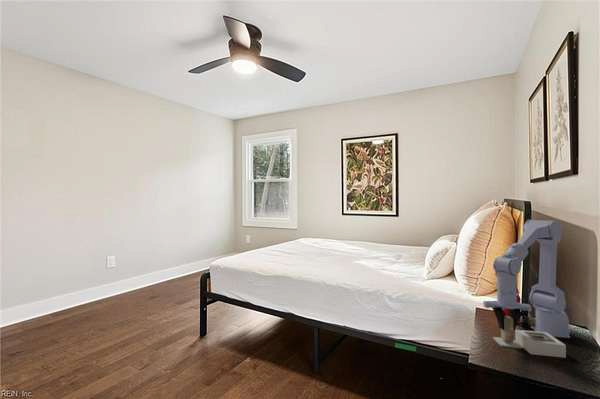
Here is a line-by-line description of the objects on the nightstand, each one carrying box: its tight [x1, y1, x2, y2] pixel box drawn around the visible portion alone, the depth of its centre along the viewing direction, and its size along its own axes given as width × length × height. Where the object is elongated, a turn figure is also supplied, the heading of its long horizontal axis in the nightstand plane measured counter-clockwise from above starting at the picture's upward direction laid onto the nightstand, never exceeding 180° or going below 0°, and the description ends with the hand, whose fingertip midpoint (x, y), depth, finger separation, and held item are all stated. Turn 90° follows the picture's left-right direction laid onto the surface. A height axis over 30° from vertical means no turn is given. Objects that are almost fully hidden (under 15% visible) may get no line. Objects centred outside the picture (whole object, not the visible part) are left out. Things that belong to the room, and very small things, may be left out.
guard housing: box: [514, 329, 567, 359], centre depth 101 cm, size 10×10×4 cm
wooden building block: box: [500, 316, 514, 342], centre depth 105 cm, size 3×3×8 cm
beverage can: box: [503, 292, 522, 324], centre depth 126 cm, size 6×6×12 cm
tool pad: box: [493, 336, 523, 349], centre depth 105 cm, size 6×6×1 cm
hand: (506, 329), depth 105 cm, fingers closed on wooden building block, 3 cm apart
